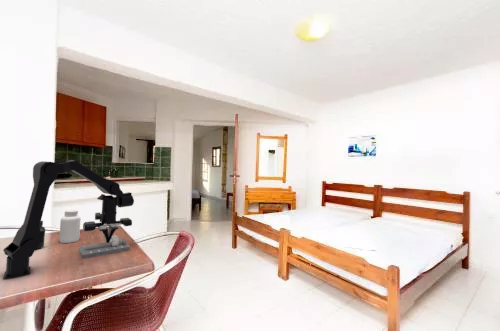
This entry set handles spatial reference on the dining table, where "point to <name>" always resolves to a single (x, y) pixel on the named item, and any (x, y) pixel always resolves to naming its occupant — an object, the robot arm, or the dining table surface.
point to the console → (102, 249)
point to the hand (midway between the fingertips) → (107, 242)
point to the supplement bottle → (43, 237)
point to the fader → (114, 240)
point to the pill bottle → (70, 227)
